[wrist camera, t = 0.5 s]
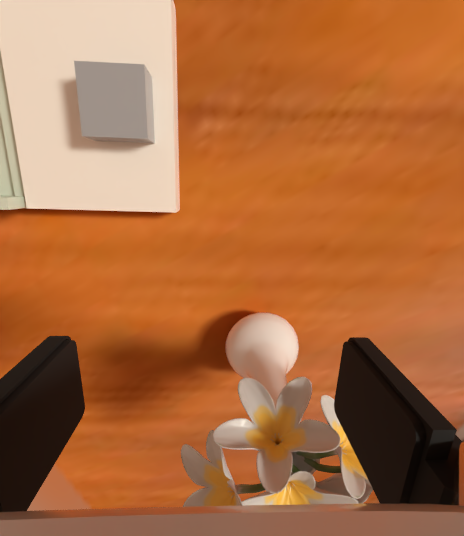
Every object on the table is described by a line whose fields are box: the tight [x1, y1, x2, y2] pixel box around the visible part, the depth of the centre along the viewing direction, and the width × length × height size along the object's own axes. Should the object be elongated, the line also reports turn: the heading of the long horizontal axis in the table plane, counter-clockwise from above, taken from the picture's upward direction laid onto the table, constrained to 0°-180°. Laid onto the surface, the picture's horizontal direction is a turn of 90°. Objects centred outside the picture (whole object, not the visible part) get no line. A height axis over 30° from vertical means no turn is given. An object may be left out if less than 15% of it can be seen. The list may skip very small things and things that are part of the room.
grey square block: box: [74, 61, 155, 143], centre depth 27 cm, size 6×6×3 cm
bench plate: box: [0, 0, 180, 212], centre depth 30 cm, size 20×16×3 cm
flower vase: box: [181, 313, 373, 507], centre depth 27 cm, size 13×18×25 cm
